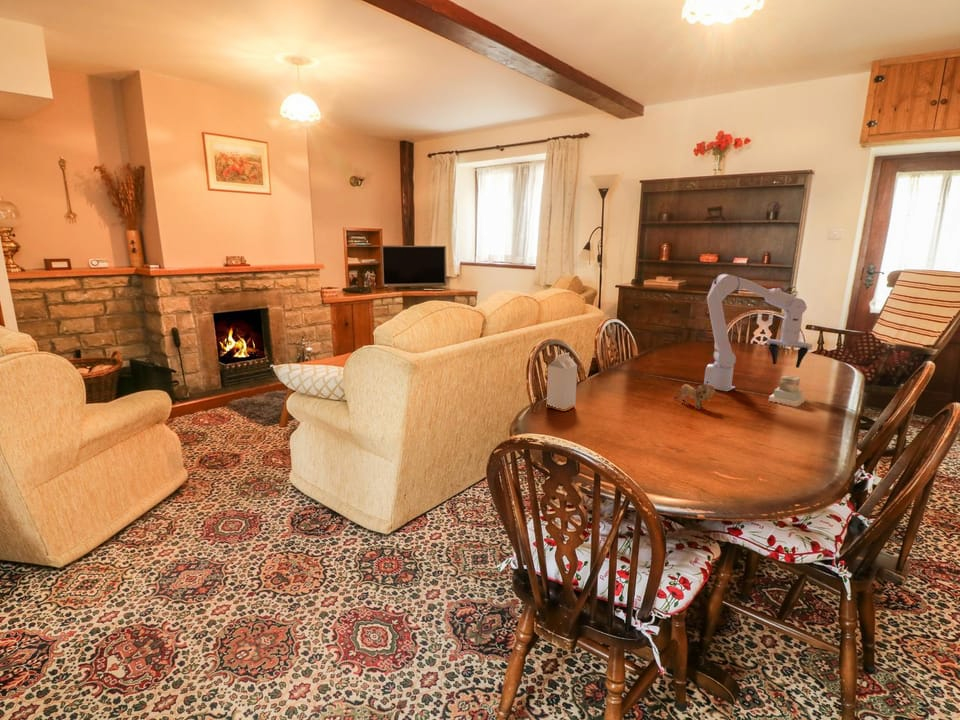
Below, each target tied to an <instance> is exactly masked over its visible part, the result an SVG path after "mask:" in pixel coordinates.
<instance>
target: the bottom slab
mask: <svg viewBox="0 0 960 720" xmlns="http://www.w3.org/2000/svg"><path fill="white" fill-rule="evenodd" d="M770 401H772V402H771V403H775V402H777V403H776V404H780V403H782V404H781V405H785V404H786V405H785V406H790V405H791V407H795V406H796V407H795V408H798V407H799V406H801V405H802V404H803V403H804V401H806V396H804V395H801V397H800V398H799V399H798V400H796V401H794V400H789V399H783V398H778V397H774V393H772V394H771V395H769V396H768V402H770ZM801 403H802V404H801ZM797 406H798V407H797Z"/></svg>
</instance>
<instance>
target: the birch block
mask: <svg viewBox="0 0 960 720" xmlns="http://www.w3.org/2000/svg"><path fill="white" fill-rule="evenodd" d="M800 380H801V377H796V376H791V375H787V374H786V375H784V376H781V377H780V381H779V386H778V387H779V390H784V391H789V392H795V391H797V390H798V389H799V386H800Z"/></svg>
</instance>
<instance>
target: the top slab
mask: <svg viewBox="0 0 960 720" xmlns="http://www.w3.org/2000/svg"><path fill="white" fill-rule="evenodd" d="M802 390H803V389H799V388H798V390H797V391H795V392H789V391H784V390H779V386H777V388H775V389H774V390H773V391H774V392H773V394H774V397H778V398H783V399H789V400H794V401H796V400H798V399H799V398H800V397H801V396H802V392H803V391H802Z"/></svg>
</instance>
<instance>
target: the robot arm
mask: <svg viewBox="0 0 960 720" xmlns="http://www.w3.org/2000/svg"><path fill="white" fill-rule="evenodd" d="M742 290H744V291H745V290H746V291H748V292H751V293H753V294H755V295H758V296H759V297H762V298H764V301H765V302H766V303H767V304H769V305H771V306H774V307H776V308H778V309H781V310H784V315H783V322H782V329H781V335H780V336H781V337H780V339H775V338H774V339H773V338H768V339H766V345H768V349H769V351H770V354H771V357H772V364H773V365H776V364H777V361H778V354H779V348H780V346H781V347H786V348H787V347H788V348H797V359H796V362H795V363H796V364H795V368H796V369H797V368H800V366H801V363H802V361H803V359H804V357H805V356H806V354H807V353H808V352H809V351H810V350H812V349H813V343H809V342H803V341H800V334H801V327H802V322H803V314H804V313H805V312H806V311H807V307H808V306H807V305H806V304H807V303H806V302H805V300H804V299H802V298H799V297H797V296H795V294H792V293H790V294H789V293H788V292H784V291H783V289H782V288H780V287H777V288H775V287H774V288H770V289H768V288H766V287H763V286H761V285H760V284H758V283H756V282H753V281H751V280H750V279H747V278H743V277H740V276H735V275H732V274H728V273H722V274H719V275H717V277H716V278H714V280H713V281H712V284H711V287H710V289H709V292H708V294H707V296H706V303H707V306H708V307H707V308H708V313H709V318H710V323H711V324H710V325H711V328H712V333H713V339H714V340H713V341H714V352H713V354H712V355H713V359H714V360H715V361H714V362H713V363H708V364H707V366H706V368H705V371H704V381H703V385H704V384H711V385H712V386H713V387H714V388H713V389H714V390H718V391H723V392H728V391H731V390H734V389H735V388H736V386H734V385H732V384H733V377H734V376H733V375H734V369H735V368H734V367H735V364H736V362H737V356H736V355H735V353H734V352H733V349H732V345H731V344H730V339H729V334H728V330H727V323H726V318H725V312H724V308H723V300H725V298H726V297H727V296H728V295H729V294H731V293H733V292H734V291H742Z"/></svg>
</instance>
